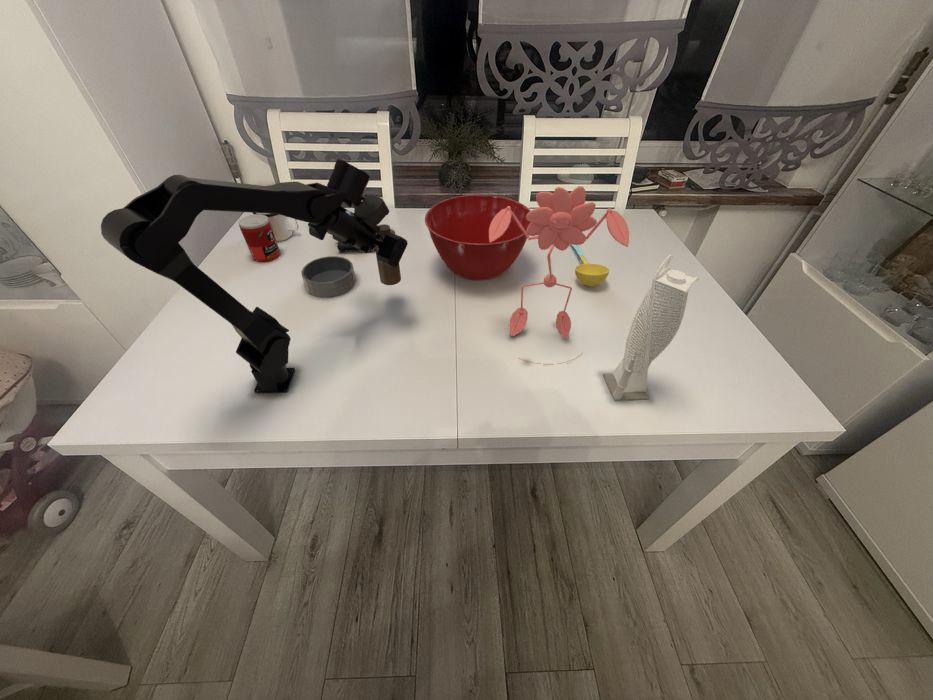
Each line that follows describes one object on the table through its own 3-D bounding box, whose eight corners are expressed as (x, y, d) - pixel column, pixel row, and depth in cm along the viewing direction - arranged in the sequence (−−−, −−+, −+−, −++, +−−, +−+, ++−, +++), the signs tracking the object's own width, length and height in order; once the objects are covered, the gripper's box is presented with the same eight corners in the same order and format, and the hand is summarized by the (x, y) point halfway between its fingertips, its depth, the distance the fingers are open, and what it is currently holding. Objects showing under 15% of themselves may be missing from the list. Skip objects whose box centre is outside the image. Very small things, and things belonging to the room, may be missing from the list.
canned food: (272, 263, 112) (258, 227, 104) (246, 260, 113) (231, 224, 105) (286, 250, 117) (273, 215, 110) (262, 247, 118) (248, 212, 111)
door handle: (389, 215, 130) (340, 214, 127) (388, 245, 115) (331, 244, 113) (390, 224, 132) (341, 223, 130) (388, 255, 118) (333, 254, 116)
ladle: (577, 291, 102) (580, 270, 99) (556, 259, 124) (557, 241, 121) (611, 290, 102) (615, 269, 99) (584, 258, 124) (586, 240, 121)
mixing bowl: (414, 288, 104) (409, 234, 93) (444, 237, 124) (442, 188, 113) (519, 304, 99) (526, 250, 88) (532, 249, 119) (539, 199, 108)
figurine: (485, 316, 95) (493, 167, 71) (592, 325, 93) (638, 175, 69) (479, 361, 84) (486, 203, 60) (600, 372, 82) (658, 213, 58)
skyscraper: (600, 370, 83) (643, 252, 63) (637, 368, 83) (691, 251, 64) (614, 401, 77) (666, 282, 57) (653, 399, 77) (718, 280, 58)
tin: (351, 297, 101) (348, 282, 97) (300, 298, 100) (295, 283, 97) (359, 269, 110) (356, 255, 107) (312, 270, 109) (308, 256, 106)
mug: (258, 243, 120) (246, 215, 114) (268, 228, 127) (258, 201, 121) (297, 243, 120) (288, 215, 114) (305, 228, 127) (297, 201, 121)
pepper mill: (405, 278, 95) (399, 226, 86) (390, 287, 92) (382, 235, 83) (390, 271, 97) (383, 220, 88) (376, 280, 94) (366, 228, 85)
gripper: (395, 200, 72) (436, 233, 86) (330, 176, 80) (378, 210, 94) (370, 254, 73) (415, 279, 87) (309, 226, 81) (359, 252, 95)
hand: (391, 253), depth 91 cm, fingers closed on pepper mill, 5 cm apart
